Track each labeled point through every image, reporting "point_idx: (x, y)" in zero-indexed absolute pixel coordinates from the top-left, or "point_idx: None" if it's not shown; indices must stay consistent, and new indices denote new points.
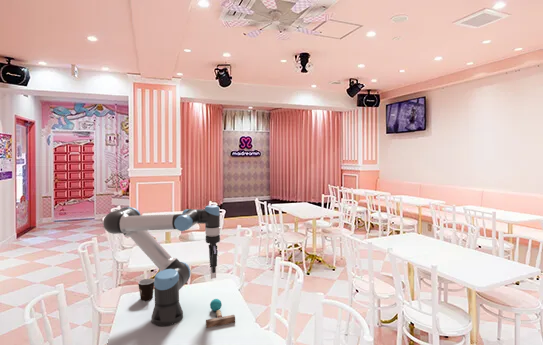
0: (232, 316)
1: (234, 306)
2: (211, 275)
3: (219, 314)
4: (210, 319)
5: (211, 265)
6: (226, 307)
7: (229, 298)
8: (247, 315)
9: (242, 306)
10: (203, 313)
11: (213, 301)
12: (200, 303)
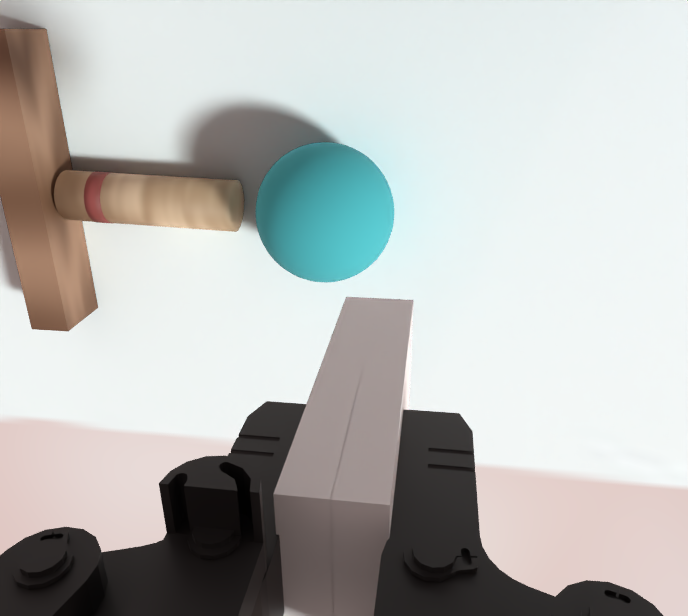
0: (36, 308)
1: None
2: (332, 341)
3: (125, 203)
4: (6, 84)
5: (186, 555)
6: None
7: (549, 390)
8: (157, 425)
9: None
10: (315, 45)
11: (291, 194)
12: (594, 47)
